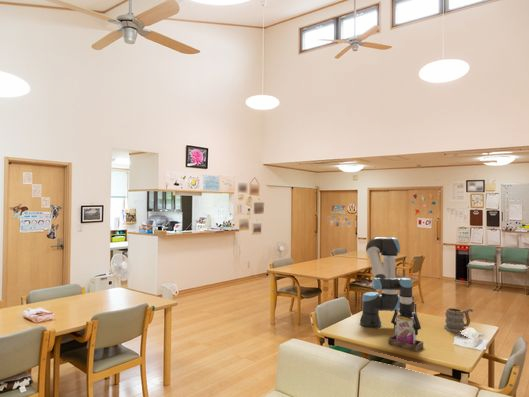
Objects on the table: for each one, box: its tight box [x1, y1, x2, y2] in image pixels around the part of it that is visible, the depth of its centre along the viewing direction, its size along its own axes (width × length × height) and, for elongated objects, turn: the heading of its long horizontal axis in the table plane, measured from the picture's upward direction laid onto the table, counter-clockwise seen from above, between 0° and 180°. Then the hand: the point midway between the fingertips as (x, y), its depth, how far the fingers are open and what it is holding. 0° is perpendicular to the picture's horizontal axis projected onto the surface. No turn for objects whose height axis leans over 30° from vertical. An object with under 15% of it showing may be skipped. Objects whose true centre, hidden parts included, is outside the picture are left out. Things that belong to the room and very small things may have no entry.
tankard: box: [443, 307, 474, 333], centre depth 273 cm, size 20×13×15 cm, turn 91°
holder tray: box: [387, 334, 424, 352], centre depth 241 cm, size 18×10×4 cm, turn 45°
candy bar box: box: [395, 313, 417, 345], centre depth 241 cm, size 11×5×16 cm, turn 51°
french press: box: [411, 294, 417, 317], centre depth 301 cm, size 12×9×23 cm
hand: (405, 337), depth 241 cm, fingers closed on candy bar box, 11 cm apart
